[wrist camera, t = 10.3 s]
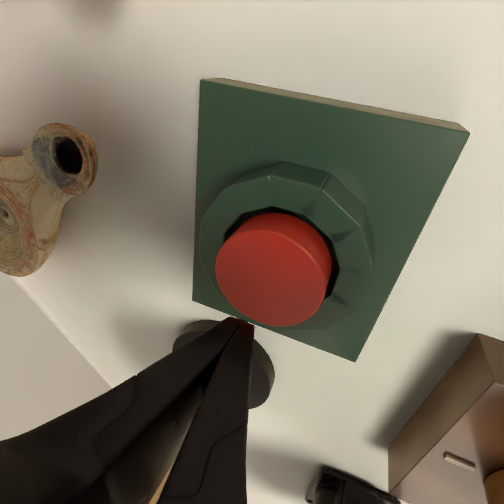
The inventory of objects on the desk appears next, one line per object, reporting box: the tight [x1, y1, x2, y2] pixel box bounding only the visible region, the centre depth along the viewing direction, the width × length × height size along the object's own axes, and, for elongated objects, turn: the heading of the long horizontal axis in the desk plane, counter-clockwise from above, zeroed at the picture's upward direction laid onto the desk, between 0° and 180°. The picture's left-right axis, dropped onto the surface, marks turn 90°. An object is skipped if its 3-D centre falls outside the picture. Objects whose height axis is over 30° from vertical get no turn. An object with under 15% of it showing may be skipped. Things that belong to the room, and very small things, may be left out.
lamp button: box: [215, 213, 332, 326], centre depth 13 cm, size 4×4×2 cm
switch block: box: [192, 78, 470, 362], centre depth 15 cm, size 12×10×4 cm
